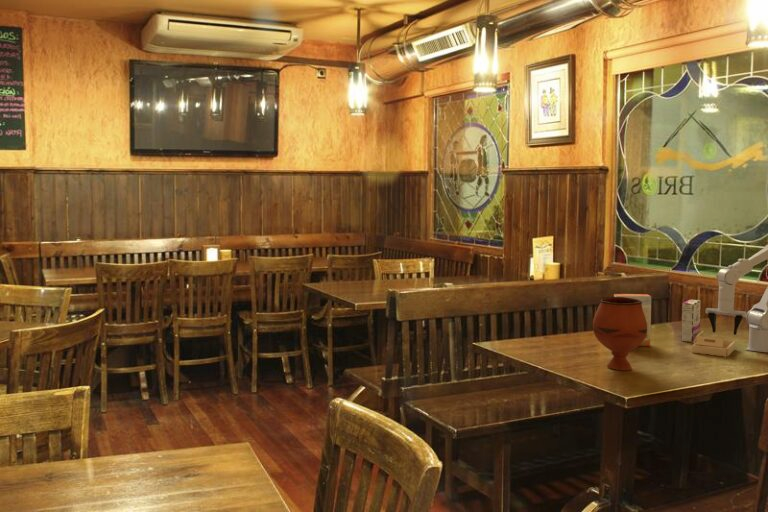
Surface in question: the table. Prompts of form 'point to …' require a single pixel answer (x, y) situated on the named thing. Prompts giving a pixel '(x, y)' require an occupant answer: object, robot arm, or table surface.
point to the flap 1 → (698, 335)
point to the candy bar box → (690, 320)
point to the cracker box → (646, 310)
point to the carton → (715, 349)
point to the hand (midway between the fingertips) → (724, 333)
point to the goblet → (620, 328)
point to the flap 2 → (709, 341)
